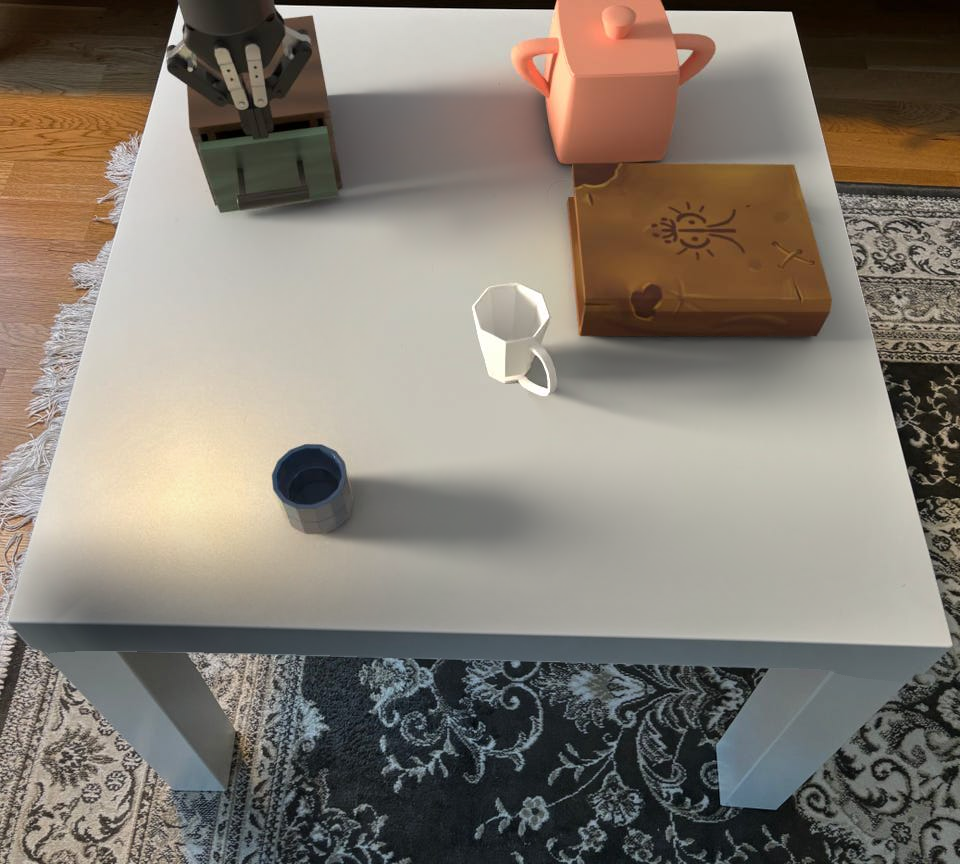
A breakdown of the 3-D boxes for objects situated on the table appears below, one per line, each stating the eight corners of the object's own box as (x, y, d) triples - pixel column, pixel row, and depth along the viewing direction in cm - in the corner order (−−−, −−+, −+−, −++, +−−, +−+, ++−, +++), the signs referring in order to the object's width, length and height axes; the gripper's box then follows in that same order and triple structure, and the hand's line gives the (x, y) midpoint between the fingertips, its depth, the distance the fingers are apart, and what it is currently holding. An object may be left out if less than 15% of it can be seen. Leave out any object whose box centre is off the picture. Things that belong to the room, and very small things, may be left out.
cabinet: (342, 188, 97) (330, 110, 88) (215, 206, 96) (189, 128, 87) (325, 94, 105) (312, 14, 96) (207, 109, 104) (183, 30, 95)
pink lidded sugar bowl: (708, 165, 99) (741, 56, 88) (513, 173, 98) (519, 63, 87) (676, 53, 110) (701, -59, 98) (499, 59, 109) (503, -53, 97)
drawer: (344, 232, 92) (334, 169, 85) (222, 249, 91) (201, 188, 84) (323, 107, 102) (311, 42, 95) (212, 121, 101) (192, 57, 94)
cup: (515, 324, 88) (519, 269, 81) (579, 393, 83) (589, 341, 76) (456, 357, 85) (455, 304, 78) (519, 430, 81) (524, 380, 74)
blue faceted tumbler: (287, 544, 75) (275, 515, 70) (281, 481, 78) (269, 450, 74) (358, 531, 76) (350, 502, 71) (348, 469, 79) (341, 437, 74)
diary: (579, 343, 86) (585, 304, 81) (566, 204, 96) (572, 163, 91) (813, 342, 87) (834, 304, 82) (778, 204, 96) (794, 162, 91)
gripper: (295, -81, 72) (325, 98, 87) (127, -63, 70) (187, 116, 85) (304, -27, 68) (334, 150, 83) (128, -7, 67) (191, 170, 81)
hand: (260, 133), depth 84 cm, fingers closed
